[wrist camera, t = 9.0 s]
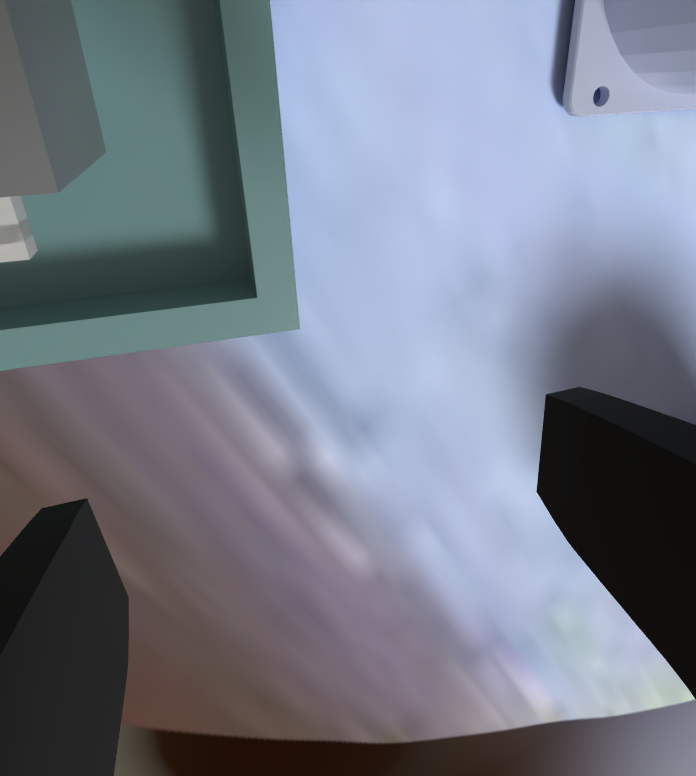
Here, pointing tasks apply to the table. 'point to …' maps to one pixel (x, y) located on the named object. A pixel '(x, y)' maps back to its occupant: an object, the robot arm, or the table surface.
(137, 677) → the table surface
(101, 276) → the tray
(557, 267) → the table surface
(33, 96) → the grey block
